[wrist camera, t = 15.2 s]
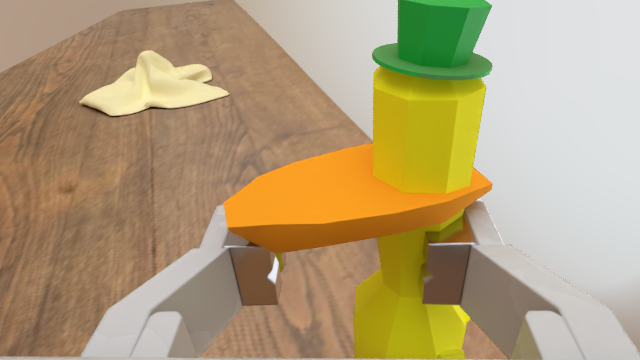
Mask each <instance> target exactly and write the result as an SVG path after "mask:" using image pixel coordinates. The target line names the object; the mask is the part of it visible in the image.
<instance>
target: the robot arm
mask: <svg viewBox="0 0 640 360" xmlns="http://www.w3.org/2000/svg"><path fill="white" fill-rule="evenodd" d="M422 253H423V257H424V262H425V263H423V264H422V265H421V266H420V273H419V281H418V286H419V291H420V295H421V300H422V304H432V305H460V308H461V309H462V310H463V311H464V312H465V313H466V314H467V315H468V316H469V317H470V318H471V319H472V320H473V321H474V322H475V323H476V324H477V326H478V327H479V328H480V329H481V330H482V331H483V332H484V333H485V334H486V335H487V336H488V337H489V338H490V339H491V340H492V341H493V342H494V344H495V345H496V346H497V347H498V348H499V349H500V350H501V351H502V352H503V353H504V354H505V355H506V356H507V357H508V358H509V359H369V358H199V357H200V356H201V355H202V354H203V353H204V352H205V350H206V349H207V348H208V347H209V346H210V345H211V344H212V342H213V341H214V340H215V339H216V338H217V337H218V336H219V334H220V333H221V332H222V331H223V330H224V329H225V328H226V326H227V325H228V324H229V323H230V322H231V321H232V320H233V318H234V317H235V316H236V315H237V314H238V313H239V312H240V310H241V309H242V308H243V306H252V305H278V303H279V297H280V291H281V285H282V281H281V274H280V272H282V271H283V270H284V266H285V255H286V252H284V253H277V254H275V253H273V252H271V251H269V250H267V249H265V248H263V247H260V246H258V245H256V244H254V243H252V242H250V241H248V240H246V239H244V238H241V237H239V236H237V235H235V234H233V233H231V232H229V230H228V228H227V222H226V216H225V210H224V204H220V205H218V206H217V207H216V208H215V211H214V213H213V216H212V218H211V220H210V223H209V225H208V228H207V230H206V232H205V235H204V237H203V240H202V242H201V244H200V247H199V248H194V249H192V250H190V251H189V252H187V253H186V254H185V255H183V256H182V257H180V258H179V259H178V260H176V261H175V262H173V263H172V264H171V265H169V266H168V267H166V268H165V269H164V270H162V271H161V272H159V273H158V274H157V275H155V276H154V277H152V278H151V279H150V280H148V281H147V282H145V283H144V284H143V285H141V286H140V287H138V288H137V289H136V290H134V291H133V292H131V293H130V294H129V295H127V296H126V297H124V298H123V299H122V300H120V301H119V302H117V303H116V304H115V305H113V306H112V307H110V308H109V309H108V310H107V311H106V313H105V315H104V316H103V318H102V320H101V321H100V323H99V325H98V327H97V328H96V330H95V332H94V334H93V335H92V337H91V339H90V340H89V342H88V344H87V346H86V347H85V349H84V351H83V353H82V354H81V356H80V357H4V356H0V360H640V353H639V351H638V350H637V348H636V347H635V345H634V344H633V342H632V341H631V339H630V338H629V336H628V335H627V333H626V332H625V330H624V328H623V327H622V325H621V324H620V322H619V321H618V319H617V318H616V316H615V315H614V313H613V312H612V310H611V309H610V308H608V307H607V306H605V305H604V304H602V303H601V302H599V301H597V300H596V299H594V298H593V297H591V296H590V295H588V294H587V293H585V292H583V291H582V290H580V289H579V288H577V287H576V286H574V285H573V284H571V283H570V282H568V281H566V280H565V279H563V278H562V277H560V276H559V275H557V274H556V273H554V272H552V271H551V270H549V269H548V268H546V267H545V266H543V265H541V264H540V263H539V262H537V261H535V260H534V259H532V258H531V257H529V256H528V255H526V254H524V253H523V252H521V251H520V250H518V249H517V248H515V247H514V246H512V245H504V244H503V241H502V239H501V237H500V235H499V233H498V231H497V229H496V227H495V224H494V223H493V220H492V219H491V216H490V214H489V212H488V210H487V208H486V206H485V204H484V201H482V200H481V199H477V200H476V201H474V202H473V203H471V204H470V205H468V206H467V207H466V208H465V209H464V212H463V215H462V216H461V217H459V218H458V219H456V220H455V221H454V222H452V223H451V224H449V225H448V226H446V227H445V228H444V229H442V230H441V231H440V232H435V231H425V238H424V244H423V251H422Z"/></svg>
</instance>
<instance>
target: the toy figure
mask: <svg viewBox="0 0 640 360" xmlns="http://www.w3.org/2000/svg"><path fill="white" fill-rule="evenodd" d="M491 7H492V5H490V4H489V3H488V2H486V1H485V0H398V43H395V44H388V45H383V46H380V47H378V48H376V49H375V50H374V51H373V54H372V57H373V60H374V61H375V62H376V63H378V64H379V65H381V66H380V67H379V68H378V69H377V70H376V71H375V72H374V97H373V143H371V144H366V145H361V146H356V147H351V148H347V149H343V150H339V151H335V152H332V153H328V154H324V155H320V156H317V157H313V158H309V159H305V160H302V161H298V162H294V163H291V164H289V165H286V166H284V167H281V168H279V169H276V170H274V171H271V172H269V173H266V174H263V175H261V176H259V177H257V178H256V179H255V180H253V181H252V182H251V183H249V184H248V185H247V186H245V187H244V188H243V189H242V190H240V191H239V192H238V193H236V194H235V195H234V196H232V197H231V198H230V199H228V200H227V201H226V202H224V203H223V204H224V210H225V216H226V222H227V228H228V230H229V232H231V233H233V234H235V235H237V236H239V237H241V238H244V239H246V240H248V241H250V242H252V243H254V244H256V245H258V246H260V247H263V248H265V249H267V250H269V251H271V252H273V253H275V254H277V253H284V252H291V251H298V250H305V249H311V248H318V247H324V246H330V245H335V244H341V243H347V242H353V241H359V240H364V239H370V238H376V237H377V241H378V248H379V256H380V263H381V268H380V269H379V270H378V271H377V272H376V273H374V274H373V275H371V276H370V277H369V278H367V279H366V280H365V281H363V282H362V283H361V284H359V285H358V286H357V287H356V293H355V311H354V346H355V358H369V359H465V354H464V351H462V345H463V340H464V335H465V330H466V324H467V322H468V321H469V319H470V317H469V316H468V315H467V314H466V313H465V312H464V311H463V310H462V309H461V308H460V305H432V304H422V300H421V295H420V291H419V286H418V281H419V273H420V266H421V265H422V264H423V263H425V262H424V257H423V253H422V251H423V244H424V238H425V231H435V232H440V231H441V230H442V229H444V228H445V227H446V226H448V225H449V224H451V223H452V222H454V221H455V220H456V219H458V218H459V217H461V216H462V215H463V212H464V209H465V208H466V207H467V206H468V205H470V204H471V203H473V202H474V201H476V200H477V199H479V198H480V197H482V196H483V195H484V194H486V193H487V192H489V191H490V190H491V189H492V183H491V182H490V181H489V180H488V179H487V178H485V177H484V176H483V175H482V174H481V173H480V172H478V171H477V170H476V169H475V168H474V167H473V164H474V158H475V152H476V146H477V140H478V133H479V127H480V121H481V115H482V109H483V103H484V97H485V91H486V86H485V84H484V82H483V81H482V79H481V77H484V76H486V75H488V74H489V73H490V72H491V70H492V63H491V62H490V61H489V60H488V59H486V58H484V57H482V56H480V55H478V54H475V53H473V49H474V47H475V44H476V42H477V40H478V38H479V35H480V33H481V30H482V28H483V26H484V23H485V21H486V19H487V16H488V14H489V12H490V9H491Z"/></svg>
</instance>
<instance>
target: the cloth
mask: <svg viewBox="0 0 640 360" xmlns="http://www.w3.org/2000/svg"><path fill="white" fill-rule="evenodd" d="M210 80H212V75H211V71H210V70H209V69H208V67H206V66H204V65H200V64H192V65H188V66H183V67H176V68H174V67H173V65H172V64H171V63H170V62H169V61H168V60H166V59H165V58H163V57H161V56H160V55H158V54H157V53H155V52H154V51H144V52H142V53H140V55H139V56H138V60H137V64H136V68H132V69H129V70H128V71H127V72H125V73H124V74H123V75H122V76H121V77H120V78H119V79H118V80H116V81H115V82H114V83H113V84H110V85H107V86H105V87H102V88H100V89H98V90H96V91H93V92H91V93H89V94H88V95H86V96H85V97H84V98H83V99H82V100H81V101H80V102H79V103H80V104H84V105H87V106H90V107H93V108H96V109H98V110H100V111H102V112H105V113H107V114H108V115H110V116H120V115H128V114H133V113H137V112H140V111H142V110H144V109H147V108H149V107H161V108H169V109H170V108H180V107H186V106H191V105H196V104H200V103H204V102H207V101H211V100H214V99H217V98H221V97H224V96H228V95H229V93H228V92H226V91H225V90H223V89H221V88H219V87H212V86H210V85H207V84H204V83H203V82H207V81H210Z"/></svg>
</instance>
